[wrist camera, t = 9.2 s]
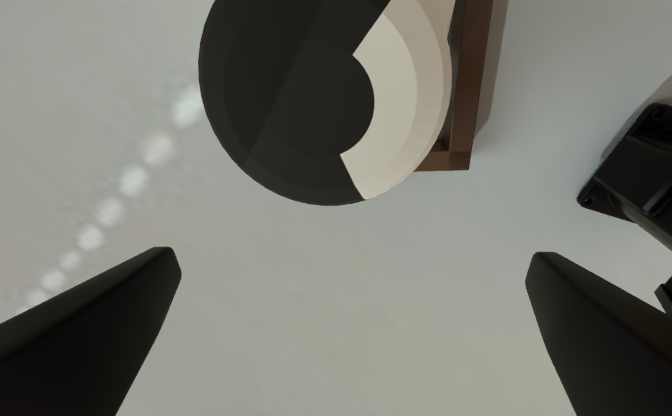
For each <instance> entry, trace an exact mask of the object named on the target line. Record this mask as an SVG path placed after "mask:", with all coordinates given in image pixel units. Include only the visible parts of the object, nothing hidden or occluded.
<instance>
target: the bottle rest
mask: <svg viewBox="0 0 672 416" xmlns="http://www.w3.org/2000/svg"><path fill="white" fill-rule="evenodd" d="M492 4H493V0H455V8H454V19H453V29H452V40H451V50H450V57H451V65H452V88H451V95H450V101H449V107H448V110H447V114H446V117H445V121H444V125H443V135H442V139H437V140H436V141H435V143H434V145H433V146H432V148H431V150H430V151H429V153H428V154H427V156H426V157H425V158H424V159H423V161H422V162H421V163H420V164H419V166H418V167H417V168H416V169H415V170H414V171H413V172H415V171H453V170H469V165H470V158H471V151H472V144H473V137H474V130H475V123H476V116H477V109H478V102H479V95H480V88H481V81H482V74H483V67H484V60H485V53H486V46H487V39H488V32H489V25H490V18H491V11H492Z"/></svg>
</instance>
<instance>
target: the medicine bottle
mask: <svg viewBox="0 0 672 416" xmlns="http://www.w3.org/2000/svg"><path fill="white" fill-rule="evenodd" d="M454 5H455V0H215V2H214V3H213V5H212V7H211V10H210V12H209V15H208V17H207V20H206V22H205V25H204V29H203V33H202V37H201V42H200V50H199V59H198V69H199V84H200V91H201V97H202V101H203V104H204V108H205V111H206V115H207V117H208V119H209V122H210V124H211V127H212V129H213V131H214V133H215V135H216V136H217V138H218V140H219V142H220V143H221V145H222V146H223V148H224V149H225V151H226V152H227V153H228V155H229V156H230V157H231V159H232V160H233V161H234V162H235V163H236V164H237V165H238V166H239V167H240V168H241V169H242V170H243V171H244V172H245V173H246V174H247V175H249V176H250V177H251V178H252V179H253V180H255V181H256V182H258V183H259V184H261V185H262V186H264V187H265V188H267V189H269V190H271V191H273V192H275V193H277V194H279V195H280V196H283V197H286V198H289V199H291V200H294V201H298V202H302V203H307V204H313V205H322V206H338V205H346V204H353V203H357V202H360V201H364V200H367V199H370V198H372V197H375V196H377V195H380V194H382V193H384V192H385V191H387V190H389V189H391V188H393V187H394V186H396V185H397V184H398V183H400V182H401V181H402V180H404V179H405V178H406V177H407V176H408V175H410V174H411V173H412V172H413V171H414V170H415V169H416V168H417V167H418V166H419V164H420V163H421V162H422V161H423V159H424V158H425V157H426V156H427V154H428V153H429V151H430V150H431V148H432V146H433V145H434V143H435V141H436V140H437V138H438V135H439V133H440V131H441V129H442V126H443V124H444V121H445V117H446V114H447V110H448V107H449V101H450V95H451V88H452V65H451V57H450V50H449V45H448V41H447V36H448V31H449V27H450V23H451V18H452V14H453V9H454Z"/></svg>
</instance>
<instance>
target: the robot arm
mask: <svg viewBox="0 0 672 416" xmlns="http://www.w3.org/2000/svg"><path fill="white" fill-rule="evenodd" d="M657 110H659V112H658V114H657V115H655V116H653V115H654V113H655V112H656V111H657ZM589 197H590V199H589V200H587V201H585V200H586V199H587V198H589ZM577 202H578V203H579V204H580V205H581V206H582V207H584V208H587V209H590V210H594V211H597V212H600V213H603V214H607V215H610V216H613V217H616V218H620V219H623V220H626V221H629V222H633V223H636V224H638V225H639V226H640V227H642V228H643V229H644V230H645V231H647V232H648V233H649V234H651V235H652V236H653V237H654V238H656V239H657V240H658V241H660V242H661V243H662V244H663V245H665V246H666V247H667V248H669V249H670V250H671V251H672V106H669V105H666V104H662V103H653V104H651V105H649V106H648V107H647V108H646V109H645V110H644V111H643V113H642V114H641V115H640V116H639V118H638V119H637V120H636V122H635V123H634V124H633V125H632V127H631V128H630V129H629V131H628V132H627V133H626V135H625V136H624V137H623V138H622V140H621V141H620V142H619V144H618V145H617V146H616V147H615V149H614V150H613V151H612V153H611V154H610V155H609V156H608V158H607V159H606V160H605V162H604V163H603V164H602V165H601V167H600V168H599V169H598V171H597V172H596V173H595V175H594V176H593V177H592V178H591V180H590V181H589V182H588V184H587V185H586V186H585V187H584V189H583V190H582V191H581V193H580V194H579V195H578V197H577ZM180 280H181V269H180V266H179V264H178V261H177V258H176V256H175V253H174V251H173V249H172V248H170V247H153V248H151V249H149V250H147V251H145V252H143V253H141V254H139V255H137V256H135V257H133V258H131V259H129V260H127V261H125V262H123V263H121V264H119V265H117V266H115V267H113V268H111V269H109V270H107V271H105V272H103V273H101V274H99V275H97V276H95V277H93V278H91V279H89V280H87V281H85V282H83V283H81V284H79V285H77V286H75V287H73V288H71V289H69V290H67V291H65V292H63V293H61V294H59V295H57V296H55V297H53V298H51V299H49V300H47V301H45V302H43V303H41V304H39V305H37V306H35V307H33V308H31V309H29V310H27V311H25V312H23V313H21V314H19V315H17V316H15V317H13V318H11V319H9V320H7V321H5V322H3V323H1V324H0V416H115V415H116V414H117V412H118V410H119V408H120V406H121V404H122V402H123V400H124V398H125V397H126V395H127V393H128V391H129V389H130V387H131V385H132V383H133V381H134V380H135V378H136V376H137V374H138V372H139V370H140V368H141V366H142V364H143V362H144V361H145V359H146V357H147V355H148V353H149V351H150V349H151V347H152V345H153V344H154V342H155V340H156V338H157V336H158V334H159V331H160V329H161V327H162V325H163V322H164V320H165V317H166V315H167V313H168V310H169V308H170V305H171V303H172V300H173V298H174V295H175V293H176V290H177V288H178V285H179V283H180ZM525 284H526V289H527V292H528V295H529V298H530V302H531V305H532V308H533V311H534V314H535V317H536V320H537V323H538V326H539V329H540V332H541V335H542V338H543V341H544V343H545V346H546V349H547V351H548V354H549V356H550V358H551V360H552V363H553V365H554V367H555V369H556V371H557V374H558V376H559V378H560V380H561V382H562V384H563V387H564V389H565V391H566V393H567V395H568V398H569V400H570V402H571V404H572V406H573V409H574V411H575V413H576V415H577V416H672V276H671V277H670V278H669V280H668V281H667V282H666V283H665V284H661V285H660V286H659V287H658V288H657V289H656V290H655V291H654V293H655V295H656V297H657V298H658V300H659V302H660V303H661V305H662V307H663V309H664V310H665V312H666V313H664V312H662V311H660V310H658V309H657V308H655V307H653V306H651V305H649V304H648V303H646V302H644V301H642V300H640V299H639V298H637V297H635V296H633V295H631V294H630V293H628V292H626V291H624V290H622V289H621V288H619V287H617V286H615V285H613V284H612V283H610V282H608V281H606V280H604V279H603V278H601V277H599V276H597V275H595V274H594V273H592V272H590V271H588V270H586V269H585V268H583V267H581V266H579V265H578V264H576V263H574V262H572V261H570V260H569V259H567V258H565V257H563V256H561V255H560V254H558V253H555V252H536V253H535V254H534V255H533V257H532V260H531V263H530V266H529V269H528V273H527V276H526V280H525Z"/></svg>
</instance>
